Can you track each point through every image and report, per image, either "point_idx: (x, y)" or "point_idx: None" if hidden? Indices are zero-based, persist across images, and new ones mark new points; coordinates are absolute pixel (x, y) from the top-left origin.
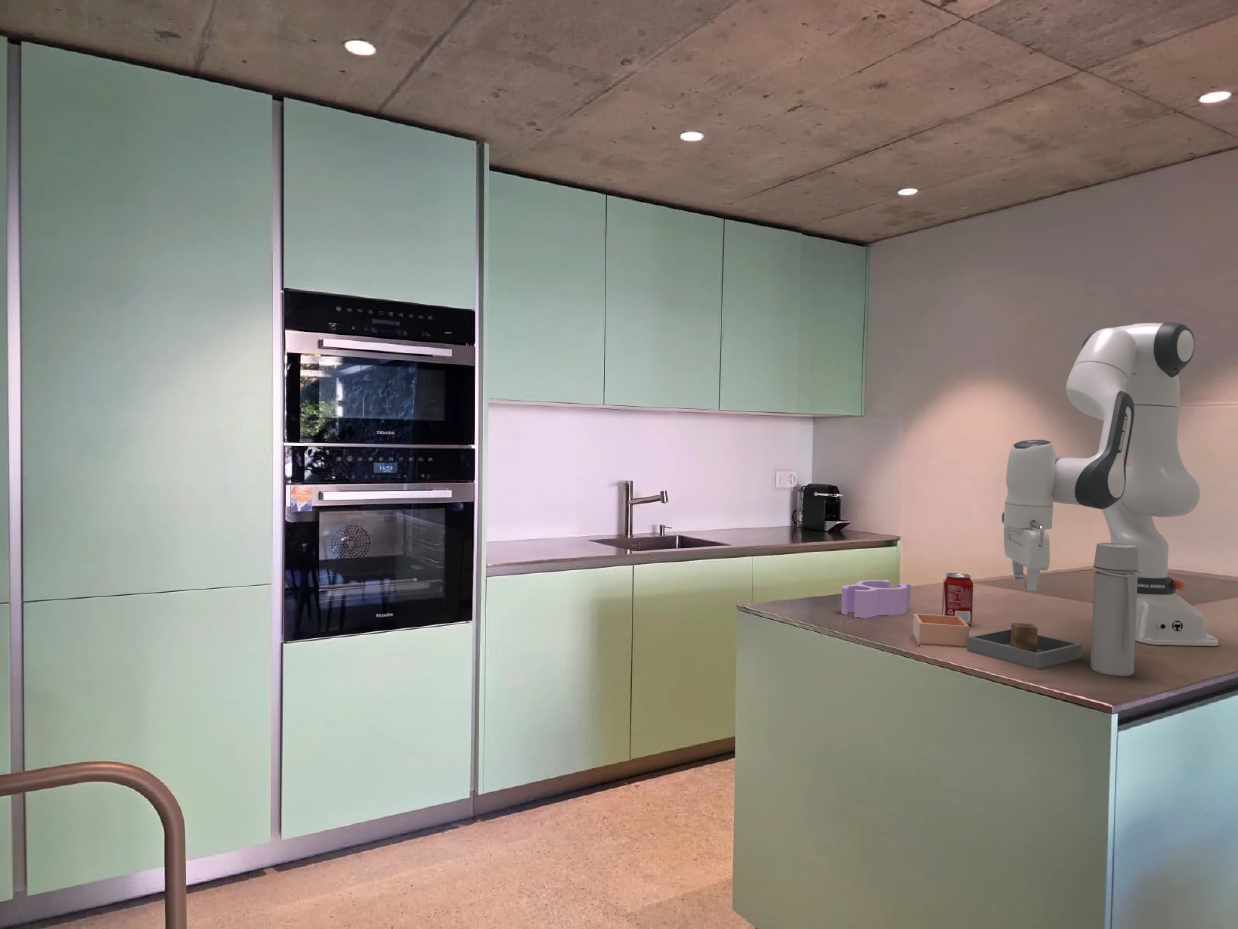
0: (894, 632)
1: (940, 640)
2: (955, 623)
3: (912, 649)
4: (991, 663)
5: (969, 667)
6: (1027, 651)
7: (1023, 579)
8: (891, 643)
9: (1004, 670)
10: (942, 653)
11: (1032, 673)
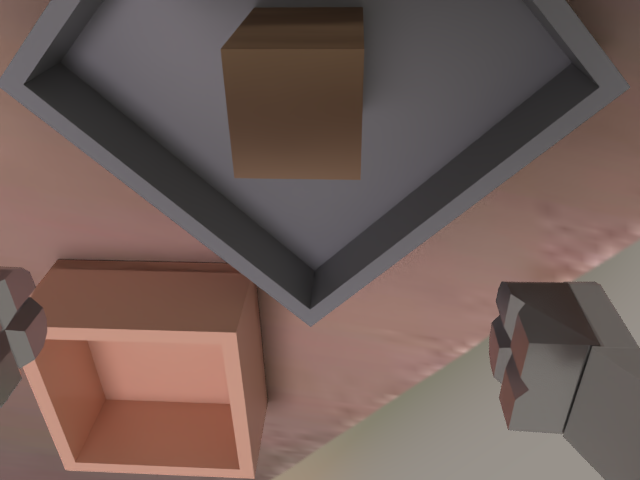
0: None
1: (257, 370)
2: None
3: (315, 422)
4: (457, 223)
5: None
6: (568, 132)
7: (3, 285)
8: None
9: (565, 198)
10: (342, 353)
11: None
